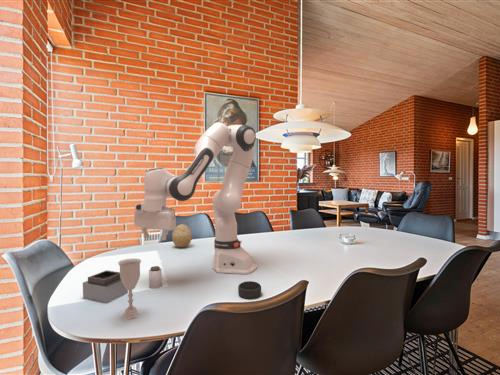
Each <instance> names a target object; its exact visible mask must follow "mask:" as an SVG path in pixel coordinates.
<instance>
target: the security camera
mask: <svg viewBox="0 0 500 375" xmlns="http://www.w3.org/2000/svg"><path fill="white" fill-rule="evenodd" d="M162 273H163V272H162V268H160V266H158V265H155V266H150V269H149V270H148V287H149V289H151V290H157V289H160V288H162V286H163V284H162V279H163V278H162Z"/></svg>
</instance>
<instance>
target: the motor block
mask: <svg viewBox="0 0 500 375" xmlns="http://www.w3.org/2000/svg"><path fill="white" fill-rule="evenodd" d="M127 293H128V294H129V290H127V289H126V288H125V287H124V285H123V283H122V281H121V279H120V271H113V270H104V271H101V272H99V273H96V274H93V275H91V276H88V277H87V280H86V281H84V282H83V281H82V298H83V299H85V300H90V301H95V302H99V303H105V304H108V303H110V302H112V301H114V300H116V299H118V298H120V297H123V296H124V295H126V294H127Z"/></svg>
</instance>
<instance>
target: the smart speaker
mask: <svg viewBox="0 0 500 375" xmlns="http://www.w3.org/2000/svg"><path fill="white" fill-rule="evenodd" d="M237 293H238V296H239V297H241V298H242V299H247V300H251V299H257V298H259V297H260V296H261V295H262V286H261V284H260V283H259V282H257V281H249V280H248V281H243V282H240V283H239V284H238V287H237Z"/></svg>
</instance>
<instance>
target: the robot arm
mask: <svg viewBox="0 0 500 375" xmlns="http://www.w3.org/2000/svg"><path fill="white" fill-rule="evenodd" d="M256 135H257V134H256V130H255V129H254V127H252V126H250V125H247V124H230V125H229V124H228V125H226V124H225V123H223V122H220V121H219V122H214V123H213V124H212V125H211V126H209V127H208V128H207V129H206V130H205V131H204V132H203V134H201V136H200V137H199V138H198V140H197V141H196V143H195V145H194V153H195V158H194V160H193V161H192V162H191V164H190V165H189V166H188V167H187V169H186V170H185V172H183V173H182V174H181V175H175V174H173V173H171V172H170V171H167V169H165V168H164V167H157V168H151V169H148V170H147V171H146V172H145V175H144V180H143V181H144V182H143V185H144V186H143V190H144V197H143V202H140V203H137V204H135V205H134V214H133V215H134V216H133V223H134V226H135V227H137V228H141V229H140V230H141V232H142V234H143V239H149V238H150V233H148V229H155V230H162V235H160V241H166V240H167V235H168V234H169V231H174V229H175V228H176V227H177V220H176V219H177V218H176V211H175V209H174V208H172V207H167V198H168V197H170V198H172V199H175V200H176V201H179V202H185V201H187V200H190V199H191V198H192V197H193V195H194V194H195V192H196V187H197V185H198V182H199V180H200V179H201V177H202V176H203V174H204V173H205V172H206V170H207V169H208V167H209V166H210V164H211V163H212V162H213V160H215V158H216V157H217V156H218V155H219V154H220V152H221V151H222V150H223V149H224V147H230V148H232V155H231V157H230V159H229V162H228V164H227V167H226V170H225V172H224V175H223V180H222V185H221V189H219V190H218V191H216V192H215V193H214V194H213V196H212V210H213V218H214V232H215V233H214V235H215V236H214V238H215V239H213V240H214V245H213V246H214V256H213V257H214V258H213V263H212V269H213V270H214V271H215V273H218V274H233V275H235V274H236V275H237V274H238V275H248V274H252V273H253V272H255V270H257V268H258V265H257V264H256V263H254V262H253V257H252V255H251V254H250V253H249V252H248V251H246V250H245V249H244V248H243V247H242V246H241V244H242V243H243V242H242V241H243V240H239V239H238V222H237V219H236V214H235V213H236V212H238V211H239V210H240V208H241V206H242V198H243V191H244V187H245V184H246V180H247V178H248V175H249V173H250V169H251V167H252V163H253V160H254V152H255V151H254V149H253V148H254V146H255V142H256V140H257V137H256Z"/></svg>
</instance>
